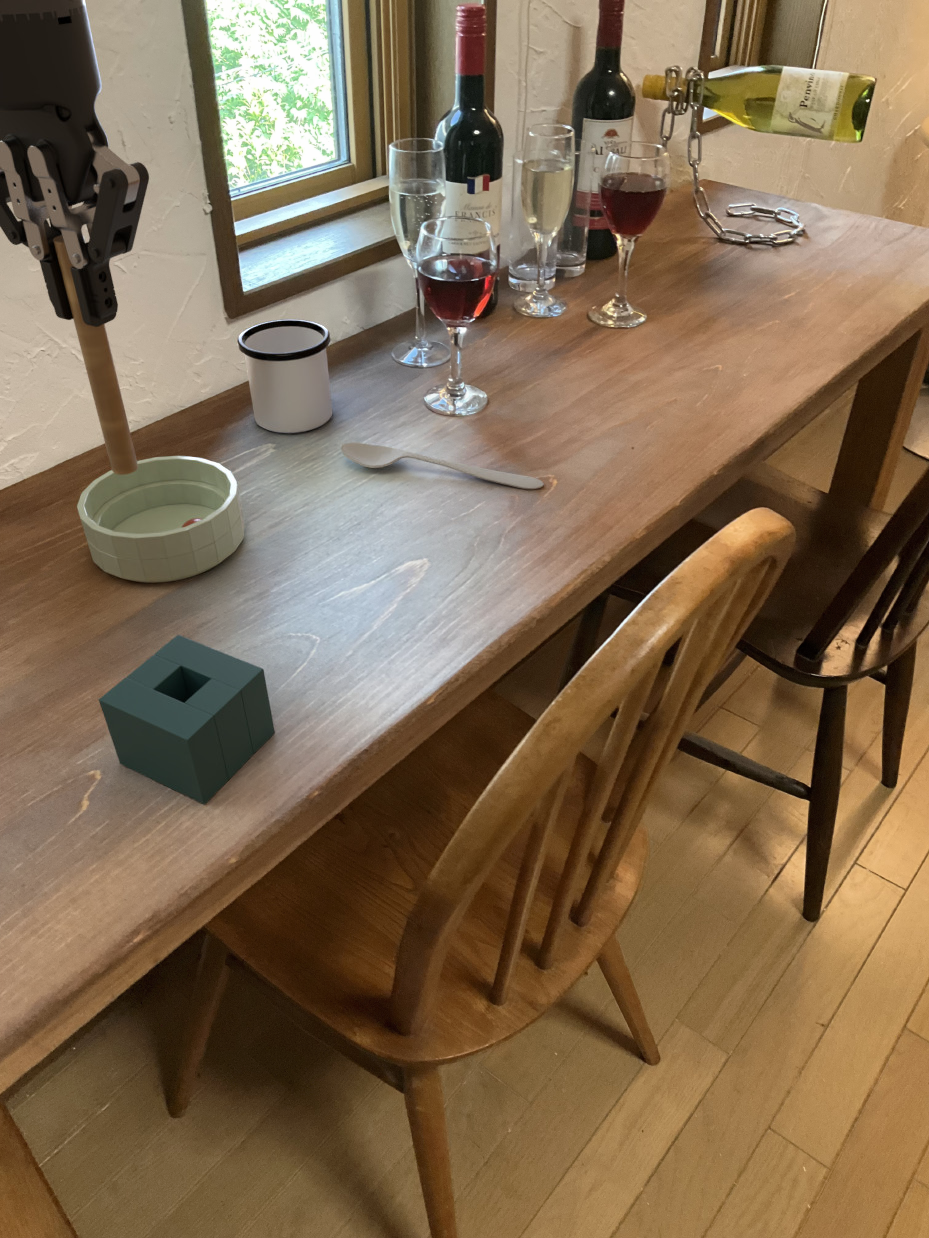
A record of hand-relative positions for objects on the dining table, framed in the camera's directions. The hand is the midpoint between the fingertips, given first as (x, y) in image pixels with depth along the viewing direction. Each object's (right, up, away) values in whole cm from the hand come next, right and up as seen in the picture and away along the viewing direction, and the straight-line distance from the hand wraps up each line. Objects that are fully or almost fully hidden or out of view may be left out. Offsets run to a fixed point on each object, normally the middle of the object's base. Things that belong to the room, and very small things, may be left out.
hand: (87, 317), depth 62 cm
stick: (0, -9, +7) cm, 11 cm away
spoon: (+22, -5, +33) cm, 40 cm away
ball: (+1, -12, +21) cm, 24 cm away
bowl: (-2, -12, +24) cm, 27 cm away
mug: (+6, +3, +43) cm, 44 cm away
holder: (+6, -28, +4) cm, 29 cm away
